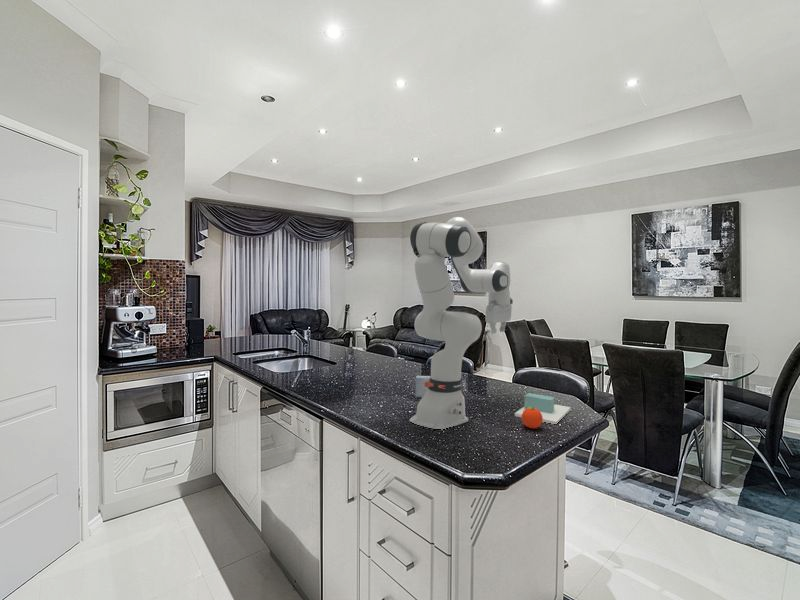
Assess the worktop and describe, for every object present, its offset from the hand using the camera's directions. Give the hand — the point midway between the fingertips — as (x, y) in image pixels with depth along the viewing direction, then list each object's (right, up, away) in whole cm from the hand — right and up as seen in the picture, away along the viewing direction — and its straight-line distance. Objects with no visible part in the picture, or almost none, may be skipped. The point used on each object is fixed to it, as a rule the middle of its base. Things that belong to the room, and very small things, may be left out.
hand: (497, 332), depth 169 cm
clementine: (+3, -30, -33) cm, 45 cm away
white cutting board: (+14, -30, -17) cm, 37 cm away
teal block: (+8, -26, -13) cm, 30 cm away
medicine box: (-31, -29, +3) cm, 42 cm away
